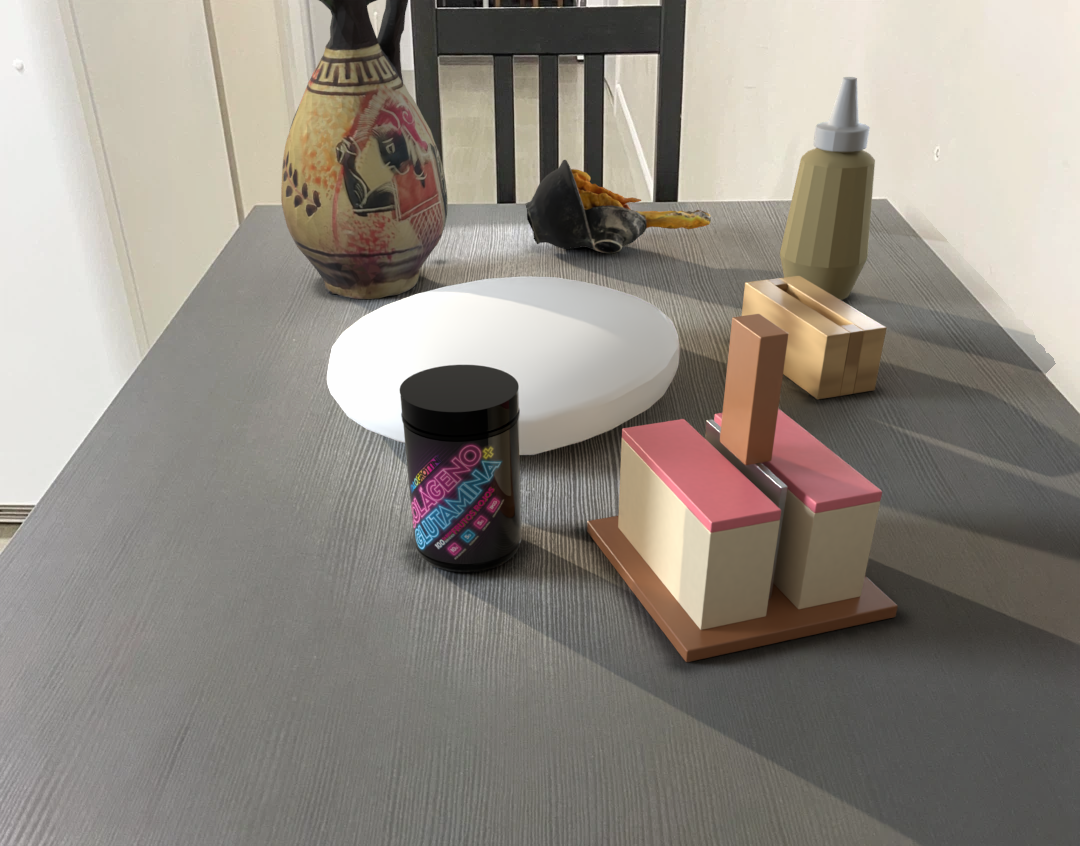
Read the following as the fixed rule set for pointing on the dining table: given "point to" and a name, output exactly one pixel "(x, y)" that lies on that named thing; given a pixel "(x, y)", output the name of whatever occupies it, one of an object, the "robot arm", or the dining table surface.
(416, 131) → the ceramic jug
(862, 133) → the squeeze bottle
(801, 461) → the cake
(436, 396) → the supplement container
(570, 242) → the fried shrimp in bowl
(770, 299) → the knife block
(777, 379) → the knife
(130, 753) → the dining table surface
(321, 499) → the dining table surface
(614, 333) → the white round flat disc
